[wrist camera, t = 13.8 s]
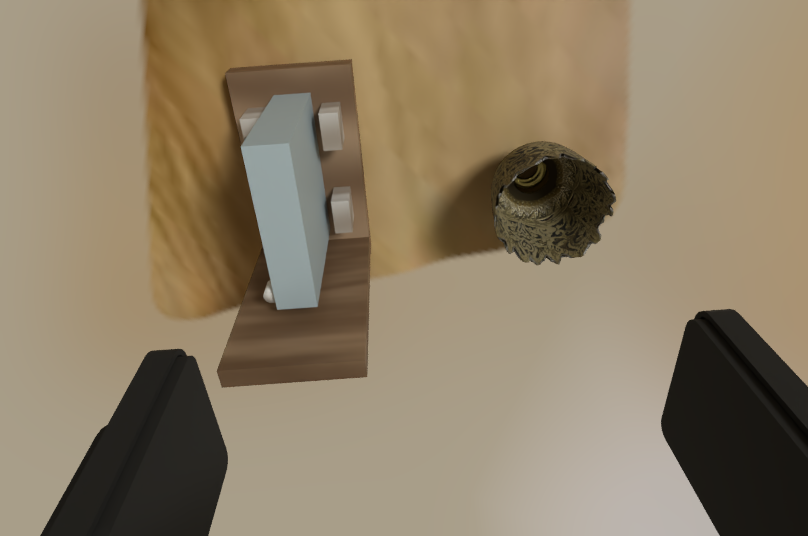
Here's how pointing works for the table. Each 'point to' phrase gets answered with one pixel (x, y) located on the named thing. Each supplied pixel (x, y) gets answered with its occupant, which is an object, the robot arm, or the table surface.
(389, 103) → the table surface
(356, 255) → the cabinet base
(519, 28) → the table surface
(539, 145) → the cup
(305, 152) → the door
